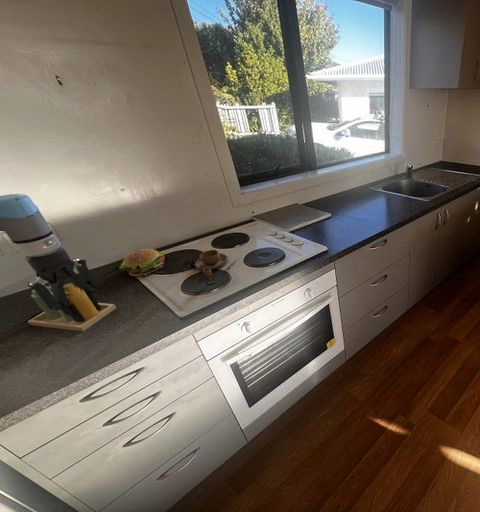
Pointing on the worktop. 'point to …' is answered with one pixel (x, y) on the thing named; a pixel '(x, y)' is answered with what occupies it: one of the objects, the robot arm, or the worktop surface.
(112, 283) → the worktop surface
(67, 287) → the mustard bottle
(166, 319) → the worktop surface
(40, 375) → the worktop surface
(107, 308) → the tray
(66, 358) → the worktop surface
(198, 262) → the place setting
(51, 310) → the sage bottle
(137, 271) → the food
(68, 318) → the sage bottle
